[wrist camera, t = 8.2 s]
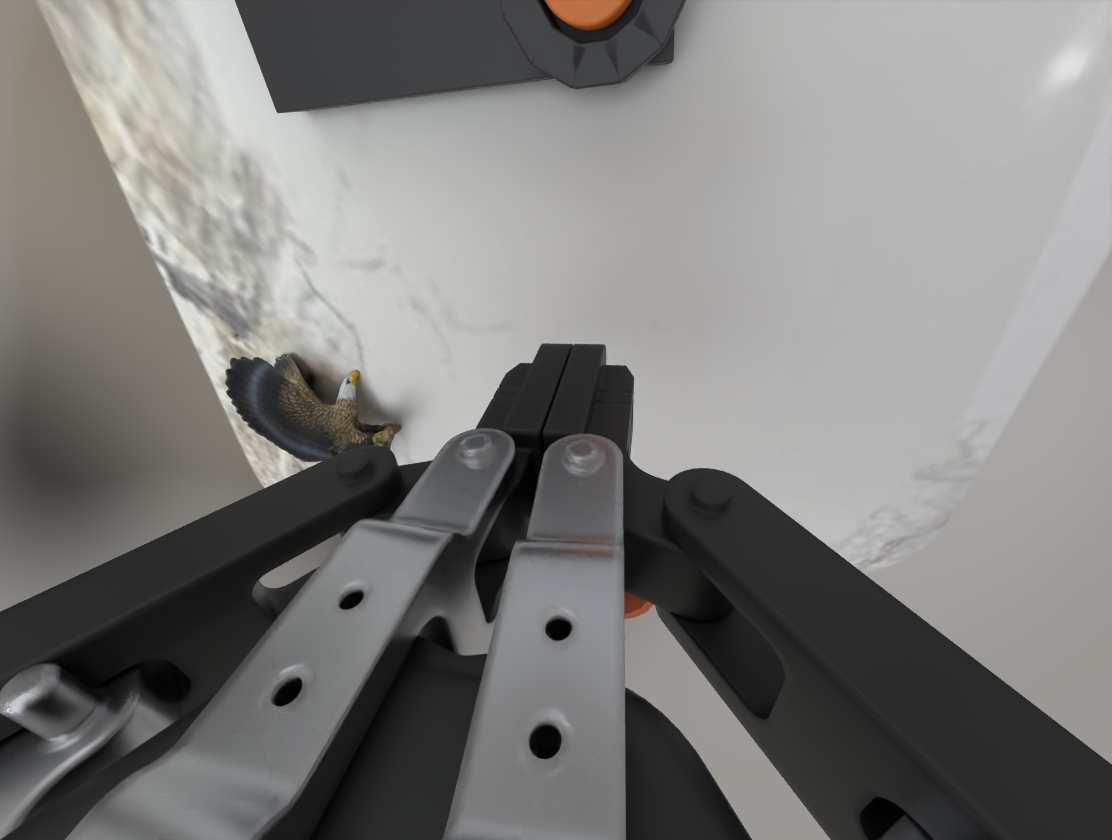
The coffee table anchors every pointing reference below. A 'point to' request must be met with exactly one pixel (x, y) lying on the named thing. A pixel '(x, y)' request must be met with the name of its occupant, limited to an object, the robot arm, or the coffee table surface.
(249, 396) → the eagle figurine
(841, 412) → the coffee table surface
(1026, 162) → the coffee table surface
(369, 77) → the scale
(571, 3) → the button
